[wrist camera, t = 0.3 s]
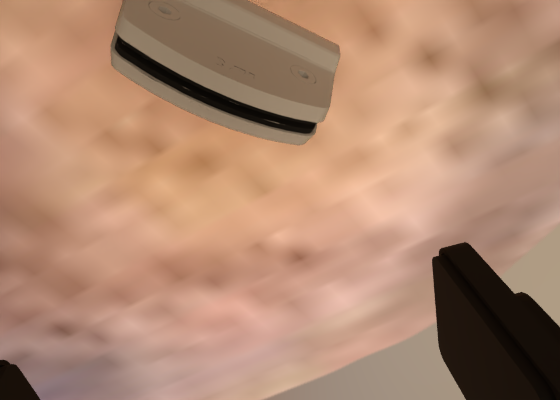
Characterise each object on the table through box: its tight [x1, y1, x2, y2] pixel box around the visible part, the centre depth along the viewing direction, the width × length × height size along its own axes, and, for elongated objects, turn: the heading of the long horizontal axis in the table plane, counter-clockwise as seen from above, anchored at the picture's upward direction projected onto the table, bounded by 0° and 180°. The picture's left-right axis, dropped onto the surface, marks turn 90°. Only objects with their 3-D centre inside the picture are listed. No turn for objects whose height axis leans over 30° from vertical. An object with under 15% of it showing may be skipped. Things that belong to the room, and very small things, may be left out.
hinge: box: [111, 0, 340, 145], centre depth 33 cm, size 17×5×10 cm, turn 65°
